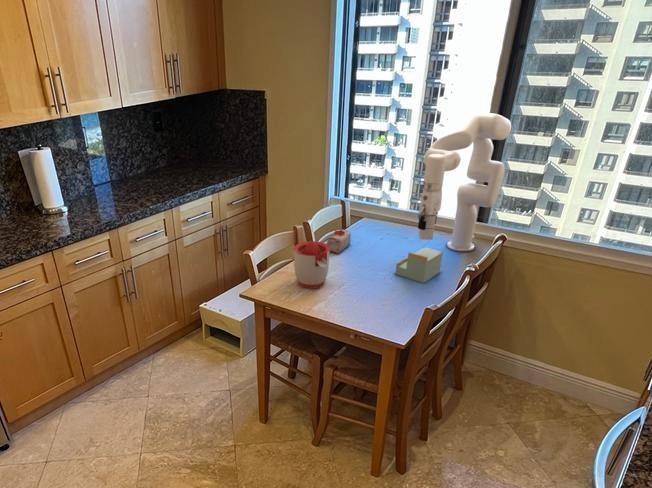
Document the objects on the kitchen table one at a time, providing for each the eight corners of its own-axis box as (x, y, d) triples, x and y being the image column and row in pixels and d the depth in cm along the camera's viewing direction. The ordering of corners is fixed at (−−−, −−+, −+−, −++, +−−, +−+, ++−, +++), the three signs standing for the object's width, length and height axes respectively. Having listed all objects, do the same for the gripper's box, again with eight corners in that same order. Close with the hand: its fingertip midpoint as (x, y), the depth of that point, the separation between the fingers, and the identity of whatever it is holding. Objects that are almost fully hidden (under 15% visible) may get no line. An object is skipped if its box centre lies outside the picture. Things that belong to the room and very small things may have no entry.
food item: (339, 255, 254) (340, 236, 248) (325, 252, 258) (325, 233, 252) (351, 245, 263) (352, 227, 258) (337, 243, 267) (338, 225, 262)
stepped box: (411, 264, 241) (415, 240, 234) (439, 272, 232) (443, 247, 226) (395, 274, 233) (398, 249, 226) (423, 282, 224) (427, 257, 218)
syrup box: (432, 239, 220) (437, 207, 212) (418, 239, 221) (423, 206, 213) (431, 234, 225) (436, 202, 217) (417, 234, 226) (422, 202, 218)
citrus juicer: (308, 296, 219) (309, 252, 208) (287, 280, 232) (286, 239, 222) (338, 286, 225) (340, 244, 214) (315, 272, 238) (316, 231, 227)
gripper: (430, 192, 203) (424, 234, 213) (451, 182, 213) (445, 222, 223) (413, 189, 208) (408, 230, 218) (435, 179, 218) (429, 219, 227)
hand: (426, 226), depth 220 cm, fingers closed on syrup box, 7 cm apart
